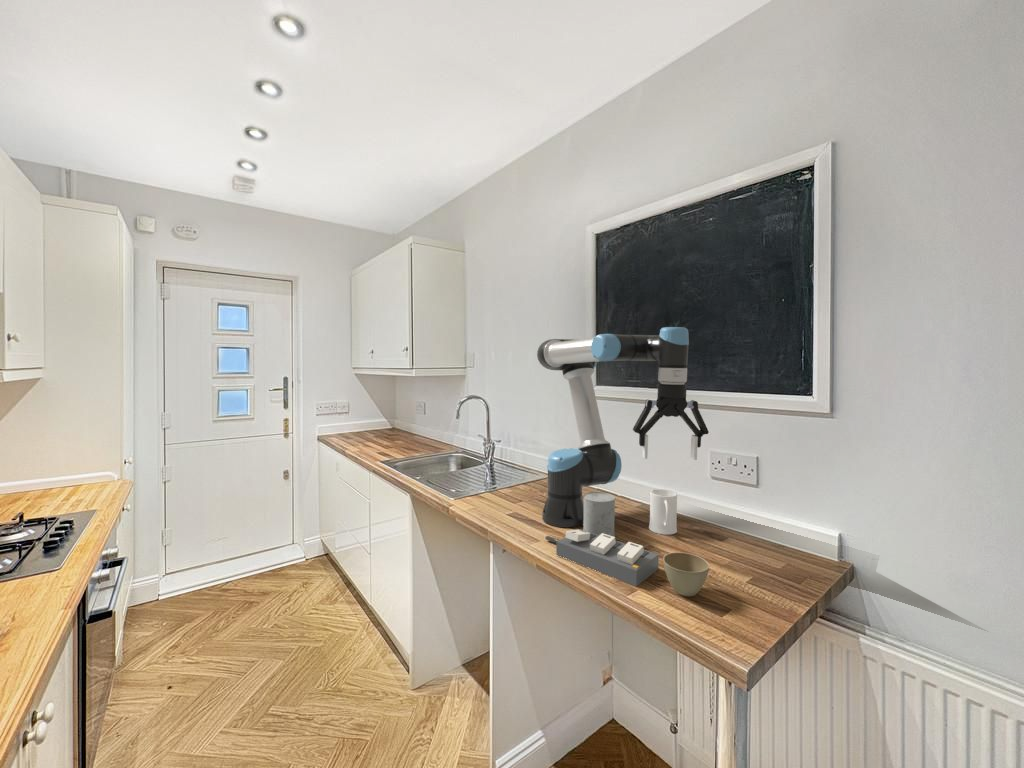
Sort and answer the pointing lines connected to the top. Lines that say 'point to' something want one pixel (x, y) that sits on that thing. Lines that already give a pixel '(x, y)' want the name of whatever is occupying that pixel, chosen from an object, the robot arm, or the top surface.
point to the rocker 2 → (602, 543)
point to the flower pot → (685, 572)
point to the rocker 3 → (630, 553)
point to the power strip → (607, 559)
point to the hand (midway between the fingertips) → (669, 458)
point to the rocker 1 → (577, 535)
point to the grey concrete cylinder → (599, 513)
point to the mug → (663, 511)
